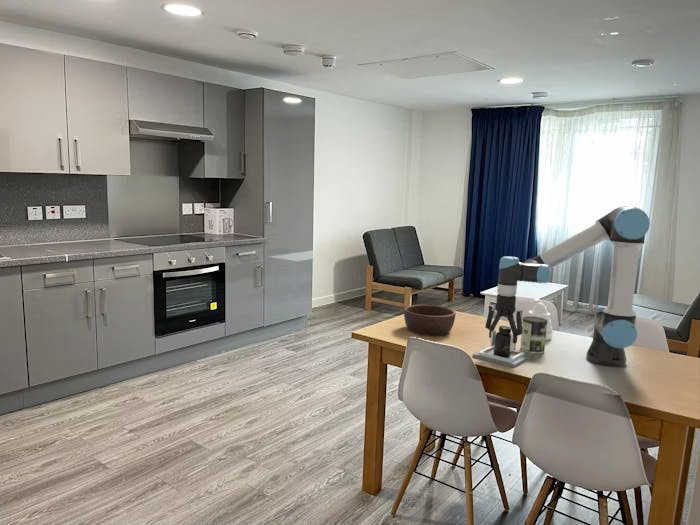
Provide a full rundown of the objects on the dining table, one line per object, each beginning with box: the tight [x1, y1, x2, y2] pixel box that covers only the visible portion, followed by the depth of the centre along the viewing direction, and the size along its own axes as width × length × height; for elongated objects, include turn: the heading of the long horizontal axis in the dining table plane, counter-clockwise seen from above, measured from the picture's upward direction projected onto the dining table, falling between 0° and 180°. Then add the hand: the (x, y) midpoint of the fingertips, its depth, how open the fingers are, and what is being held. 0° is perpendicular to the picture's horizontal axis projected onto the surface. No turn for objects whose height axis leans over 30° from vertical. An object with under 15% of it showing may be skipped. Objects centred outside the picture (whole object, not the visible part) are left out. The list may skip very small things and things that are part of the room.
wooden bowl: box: [403, 304, 457, 337], centre depth 259 cm, size 25×25×10 cm
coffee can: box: [519, 315, 548, 355], centre depth 233 cm, size 10×10×14 cm
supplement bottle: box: [494, 325, 512, 357], centre depth 220 cm, size 7×7×12 cm
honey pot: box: [528, 298, 553, 341], centre depth 256 cm, size 13×13×18 cm
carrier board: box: [472, 343, 535, 368], centre depth 222 cm, size 18×20×7 cm
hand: (502, 348), depth 220 cm, fingers open, 8 cm apart
